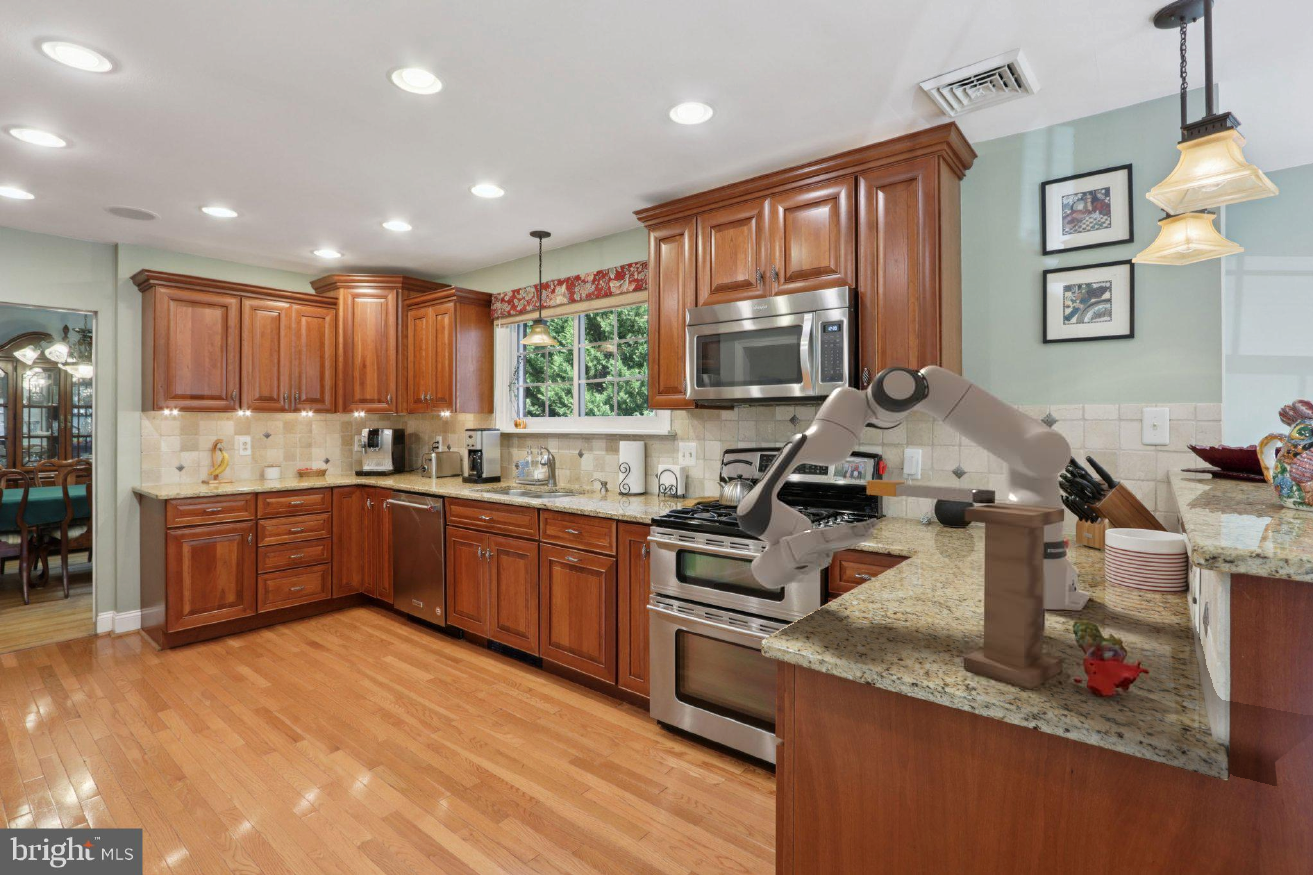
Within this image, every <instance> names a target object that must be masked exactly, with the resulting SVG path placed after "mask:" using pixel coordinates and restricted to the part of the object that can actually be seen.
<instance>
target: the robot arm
mask: <svg viewBox="0 0 1313 875" xmlns="http://www.w3.org/2000/svg"><path fill="white" fill-rule="evenodd" d="M913 411H920V412H924V413H925V414H929V415H930V416H932V417H933V418H935V419H936V420H938V421H939V422H940V423H942V424H943V425H945V426H946V427H948V428H950V429H951V430H953V431H954V432H956V433H958V434H959V435H961V436H962V437H964V438H965V439H967V440H968V441H970V442H971V443H973V444H975V445H977V446H978V447H980V448H981V449H983V450H985V451H987V452H988V453H990V454H991V455H993V456H995V457H997V458H998V459H1000V460H1001V461H1002V475H1003V487H1004V488H1003V489H1004V495H1005V503H1007V504H1018V505H1029V506H1040V507H1050V508H1061V509H1064V502H1063V499H1062V494H1061V488H1060V481H1059V474H1060V473H1061V472H1063V471H1064V470H1065V469H1066V468H1067V466H1068V465H1069V463H1070V461H1071V457H1072V450H1071V446H1070V444H1069V442H1068V440H1067V439H1066V438H1065V437H1064V436H1063V434H1061V433H1060V432H1059V431H1057V430H1055V429H1054V428H1052V427H1050V426H1048V425H1047V424H1044V423H1043V422H1041V421H1039V420H1037V419H1035V418H1034V417H1032V416H1030V415H1029V414H1026V413H1025V412H1022V411H1021V410H1019V409H1017V408H1015V407H1013V406H1012V405H1010V404H1008V403H1006V402H1004V401H1002V400H1000V399H999V398H998V397H995V396H994V395H993V394H991V393H989V392H988V391H986V389H985V390H984V389H983V388H981V387H979V386H978V385H977V384H975V383H973V382H972V381H971V380H968V379H966V378H964V377H963V376H961V375H959V374H956V373H955V372H952V371H951V370H948V369H945V368H944V367H940V366H939V365H938V366H937V365H928V366H927V365H926V366H925V367H923V368H921V369H920V370H918V369H911V368H907V367H906V366H905V367H904V366H891V367H887V368H885V369H883V370H881V371H880V372H879V373H878V374H876V376H875V377H874V379H873V380H872V382H871V383H870V385H869V386H868V388H867V389H863V390H860V389H859V390H858V389H857V388H854V387H850V386H840V387H836V388H835V389H833V391H831V393H830V394H829V395H828V396H827V398H826V399H825V400H824V402H823V403H822V405H821V407H820V408H819V410H818V412H817V413H816V415H815V418H814V419H813V420H812V423H811V425H810V427H808V429H807V430H806V431H804V432H803V433H797V434H794V435H793V436H791V437H790V438H789V439H788V440H787V441H786V442H785V443H784V445H783V446H782V447H781V448H780V450H779V451H778V453H777V454H776V455H775V456H774V458H773V459H772V461H771V462H770V463H769V465H768V466H767V468H766V469H765V471H764V472H763V473H762V475H761V476H760V478H759V479H757V481H756V483H755V484H754V485H753V486H752V487H751V489H749V491H748V492H747V493H746V494H744V496H743V497H742V499H740V501H739V503H738V505H737V507H736V510H735V515H736V520H737V524H738V526H739V528H740V529H741V531H742V532H744V533H747V534H748V535H751V536H752V537H756V538H758V539H760V540H762V541H763V542H765V543H767V544H766V547H765V549H764V550H763V551H762V553H760V554H758V556H757V557H755V558H754V559H753V560H752V562H751V564H750V565H751V566H750V568H751V572H752V574H753V576H754V578H755V580H756V581H758V583H759V584H761V585H762V586H764V587H766V588H767V589H778V588H782V587H785V586H788V585H792V583H795V582H797V581H799V580H800V579H801V578H802V577H803V576H809V575H812V574H814V573H816V572H819V571H821V570H822V569H825V568H827V567H829V566H830V565H831V564H832V561H833V556H834V554H835V552H840V551H845V550H847V549H851V548H853V547H856V546H858V545H860V544H863V543H865V542H867V541H869V540H871V539H872V538H873V537H874V533H873V530H874V529H876V528H878V527H879V526H880V524H879V522H878V519H877V518H875V517H874V518H870V519H867V520H866V521H860V522H854V523H849V522H841V523H839V524H837V525H835V526H829V527H821V528H815V527H814V526H813V522H812V521H811V519H810V518H808V517H807V516H805V515H804V514H802V513H801V512H799V511H798V510H796V509H794V508H793V507H791V506H789V505H787V504H786V503H784V502H783V501H780V500H779V499H778V497H777V496H778V495H777V494H778V492H779V491H780V489H781V488H782V487H783V485H784V484H785V483H786V481H787V480H788V479H789V476H790V475H791V473H792V472H794V470H795V469H796V468H797V466H800V465H801V464H808V465H816V466H821V467H831V466H836V465H839V464H842V463H843V462H844V463H845V461H847V460H848V459H849V457H851V454H852V453H853V452H854V450H855V447H856V446H857V443H858V441H859V439H860V436H861V433H862V432H863V430H864V429H865V428H870V429H876V430H881V431H887V430H889V431H890V430H893V429H895V428H897V427H898V426H900V425H901V424H902V423H903V422H904V420H906V419H907V418H908V417H909V416H910V415H911V414H912V412H913ZM1063 525H1064V521H1063V522H1059V523H1055V524H1050V525H1046V526H1044V565H1043V571H1044V574H1045V577H1046V596H1045V610H1066V611H1082V610H1083V608H1084V607H1085V605H1086V603H1087V602H1088V601H1089V599H1090V596H1091V595H1090V593H1089V592H1087V591H1083V590H1080V589H1079V587H1078V585H1079V584H1078V583H1079V582H1078V580H1079V579H1078V578H1079V577H1078V576H1079V575H1078V572H1077V570H1076V568H1074V566H1073V565H1072V564H1071V562H1069V560H1068V559H1067V557H1066V556H1067V549H1068V548H1069V546H1070V543H1069V542H1070V541H1069V539H1063V532H1064V530H1063V529H1064V526H1063Z"/></svg>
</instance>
